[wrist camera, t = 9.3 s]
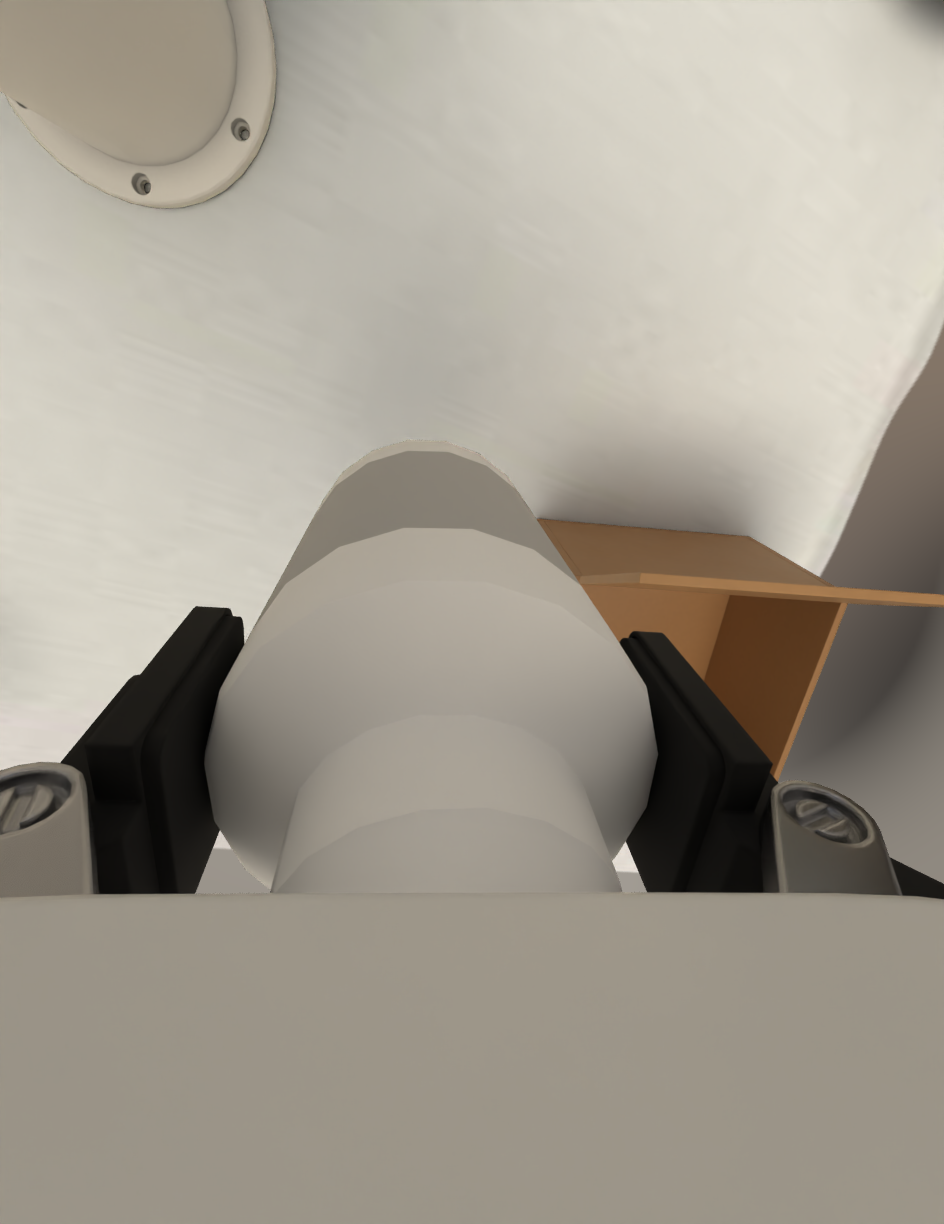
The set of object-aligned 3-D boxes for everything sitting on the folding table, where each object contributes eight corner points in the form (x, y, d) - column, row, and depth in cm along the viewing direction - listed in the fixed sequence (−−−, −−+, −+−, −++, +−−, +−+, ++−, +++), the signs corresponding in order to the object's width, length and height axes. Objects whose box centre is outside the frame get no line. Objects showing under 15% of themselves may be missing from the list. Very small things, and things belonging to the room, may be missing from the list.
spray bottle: (573, 549, 19) (1419, 1679, 3) (423, 678, 21) (460, 1887, 5) (427, 385, 17) (830, 1800, 1) (268, 545, 18) (-843, 2166, 2)
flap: (579, 584, 29) (580, 575, 28) (859, 604, 30) (859, 596, 30) (639, 583, 21) (640, 572, 21) (1001, 609, 23) (1002, 599, 23)
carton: (536, 518, 39) (575, 575, 29) (749, 536, 40) (851, 595, 31) (506, 710, 45) (531, 809, 35) (693, 718, 46) (764, 815, 37)
